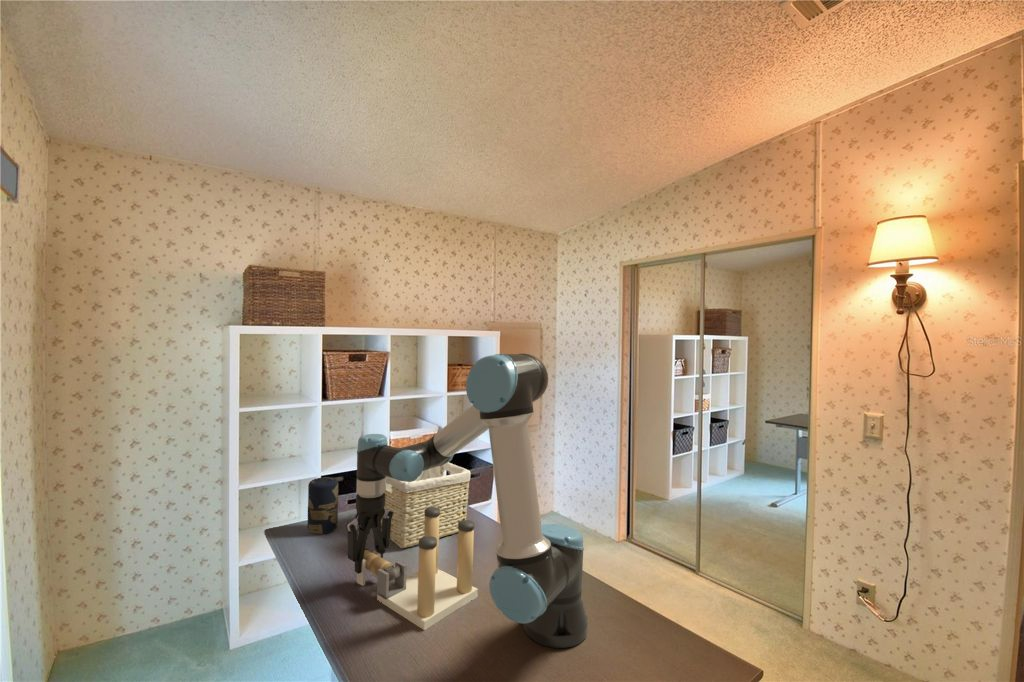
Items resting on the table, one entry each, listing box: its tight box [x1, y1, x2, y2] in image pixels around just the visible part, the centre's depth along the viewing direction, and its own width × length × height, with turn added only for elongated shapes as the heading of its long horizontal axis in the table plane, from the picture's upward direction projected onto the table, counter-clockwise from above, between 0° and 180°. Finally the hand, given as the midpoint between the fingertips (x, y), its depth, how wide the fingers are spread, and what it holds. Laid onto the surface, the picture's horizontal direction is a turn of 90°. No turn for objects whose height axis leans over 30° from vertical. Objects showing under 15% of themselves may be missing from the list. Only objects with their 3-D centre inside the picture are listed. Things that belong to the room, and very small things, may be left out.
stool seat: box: [376, 507, 479, 631], centre depth 117 cm, size 18×19×19 cm
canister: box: [307, 476, 339, 535], centre depth 155 cm, size 10×10×18 cm
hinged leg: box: [363, 547, 402, 582], centre depth 120 cm, size 14×4×4 cm, turn 52°
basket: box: [381, 461, 471, 549], centre depth 159 cm, size 27×27×22 cm
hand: (368, 579), depth 122 cm, fingers closed on hinged leg, 4 cm apart
